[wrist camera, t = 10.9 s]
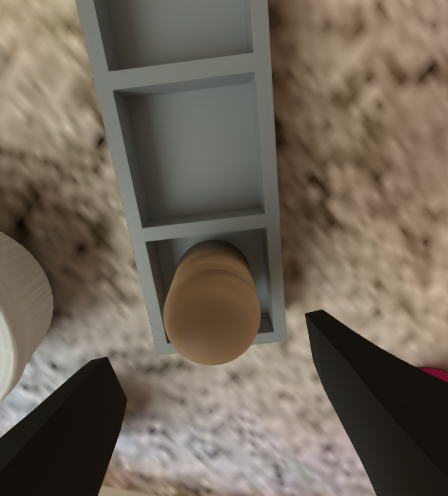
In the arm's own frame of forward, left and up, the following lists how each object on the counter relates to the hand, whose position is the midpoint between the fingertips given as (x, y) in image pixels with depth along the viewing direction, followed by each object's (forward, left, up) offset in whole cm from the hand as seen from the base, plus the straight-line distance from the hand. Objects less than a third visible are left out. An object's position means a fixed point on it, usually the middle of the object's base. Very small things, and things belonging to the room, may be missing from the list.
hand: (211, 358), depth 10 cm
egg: (0, 0, -8) cm, 8 cm away
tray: (0, -7, -8) cm, 11 cm away
